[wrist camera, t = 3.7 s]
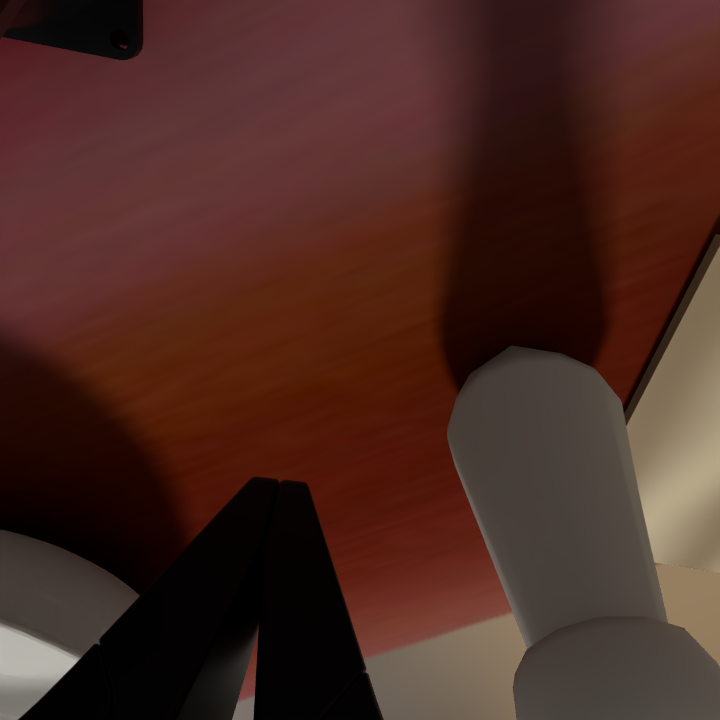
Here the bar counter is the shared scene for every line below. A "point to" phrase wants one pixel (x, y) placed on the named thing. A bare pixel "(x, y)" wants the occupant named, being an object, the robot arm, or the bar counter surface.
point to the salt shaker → (573, 545)
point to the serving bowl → (49, 616)
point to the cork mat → (682, 429)
